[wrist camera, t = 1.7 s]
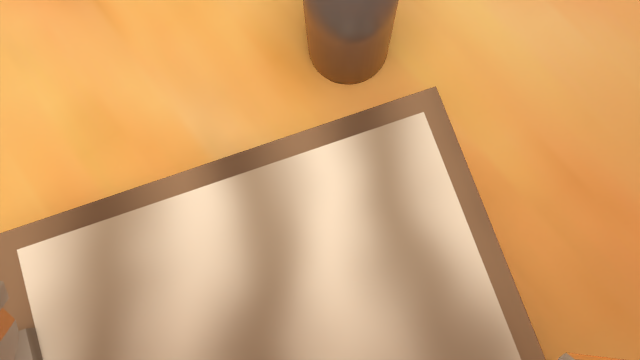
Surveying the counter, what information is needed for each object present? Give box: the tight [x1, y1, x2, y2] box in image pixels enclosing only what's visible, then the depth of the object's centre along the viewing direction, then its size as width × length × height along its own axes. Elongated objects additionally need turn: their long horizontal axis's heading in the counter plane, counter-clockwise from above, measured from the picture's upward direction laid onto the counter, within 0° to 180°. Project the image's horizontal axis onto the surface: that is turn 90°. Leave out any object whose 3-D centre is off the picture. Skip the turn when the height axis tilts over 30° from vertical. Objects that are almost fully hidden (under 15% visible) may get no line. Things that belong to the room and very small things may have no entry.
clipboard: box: [0, 87, 545, 360], centre depth 25 cm, size 22×15×2 cm
